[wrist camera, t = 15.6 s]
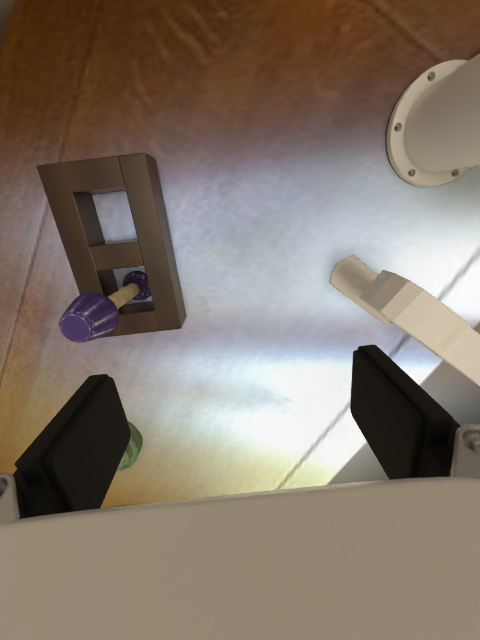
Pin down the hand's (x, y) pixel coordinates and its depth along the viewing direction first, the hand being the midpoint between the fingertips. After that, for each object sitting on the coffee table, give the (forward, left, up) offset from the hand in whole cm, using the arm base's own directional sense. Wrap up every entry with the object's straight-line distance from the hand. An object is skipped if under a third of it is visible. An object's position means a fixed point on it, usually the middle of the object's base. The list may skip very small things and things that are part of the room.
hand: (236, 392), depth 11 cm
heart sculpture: (-6, +20, -31) cm, 37 cm away
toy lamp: (+10, -10, -31) cm, 34 cm away
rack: (+6, -13, -30) cm, 33 cm away
